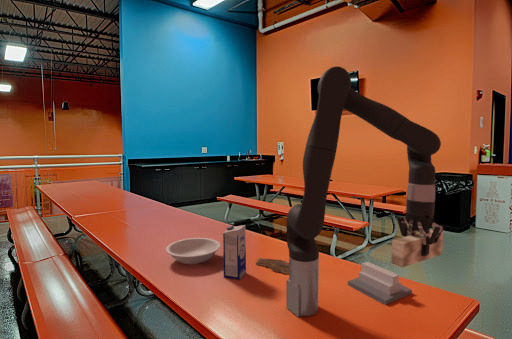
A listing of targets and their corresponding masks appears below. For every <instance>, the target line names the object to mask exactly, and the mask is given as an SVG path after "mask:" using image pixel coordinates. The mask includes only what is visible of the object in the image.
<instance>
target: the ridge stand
mask: <svg viewBox="0 0 512 339" xmlns="http://www.w3.org/2000/svg"><path fill="white" fill-rule="evenodd" d="M399 276H400V275H399V274H397V273H395V272H392V271H390V270H388V269H386V268H383V267H380V266H378V265H376V264H373V263H371V262H368V261H365V262H362V263H361V271H359V272H358V277H356V278H353V279H350V280H348V281H347V286H348V287H351V288H353V289H355V290H356V291H359V292H360V293H362V294H363V295H366V296H368V297H369V298H372V299H373V300H375V301H376V302H379V303H381V304H382V305H384V306H386V305H388V304H390V303H393V302H396V301H398V300H401V299H402V298H405V297H407V296H410V295H412V292H413V289H412V288H409V287H406V286H405V285H402V282H401V281H399Z"/></svg>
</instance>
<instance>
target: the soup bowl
mask: <svg viewBox="0 0 512 339" xmlns="http://www.w3.org/2000/svg"><path fill="white" fill-rule="evenodd" d="M221 247H222V244H221V243H220V241H218V240H216V239H213V238H209V237H208V238H207V237H190V238H189V237H188V238H183V239H180V240H176V241H174V242H171V243H170V244H168V245H167V246H166V247H165V252H166V253H167V254H168V255H170V256H171V258H172V259H173V260H175V261H176V262H178V263H181V264H184V265H185V264H186V265H196V264H201V263H204V262H207V261H208V260H210V259H211V258H213V257H214V255H215V254H216V252H218V251H220V249H221Z"/></svg>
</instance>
